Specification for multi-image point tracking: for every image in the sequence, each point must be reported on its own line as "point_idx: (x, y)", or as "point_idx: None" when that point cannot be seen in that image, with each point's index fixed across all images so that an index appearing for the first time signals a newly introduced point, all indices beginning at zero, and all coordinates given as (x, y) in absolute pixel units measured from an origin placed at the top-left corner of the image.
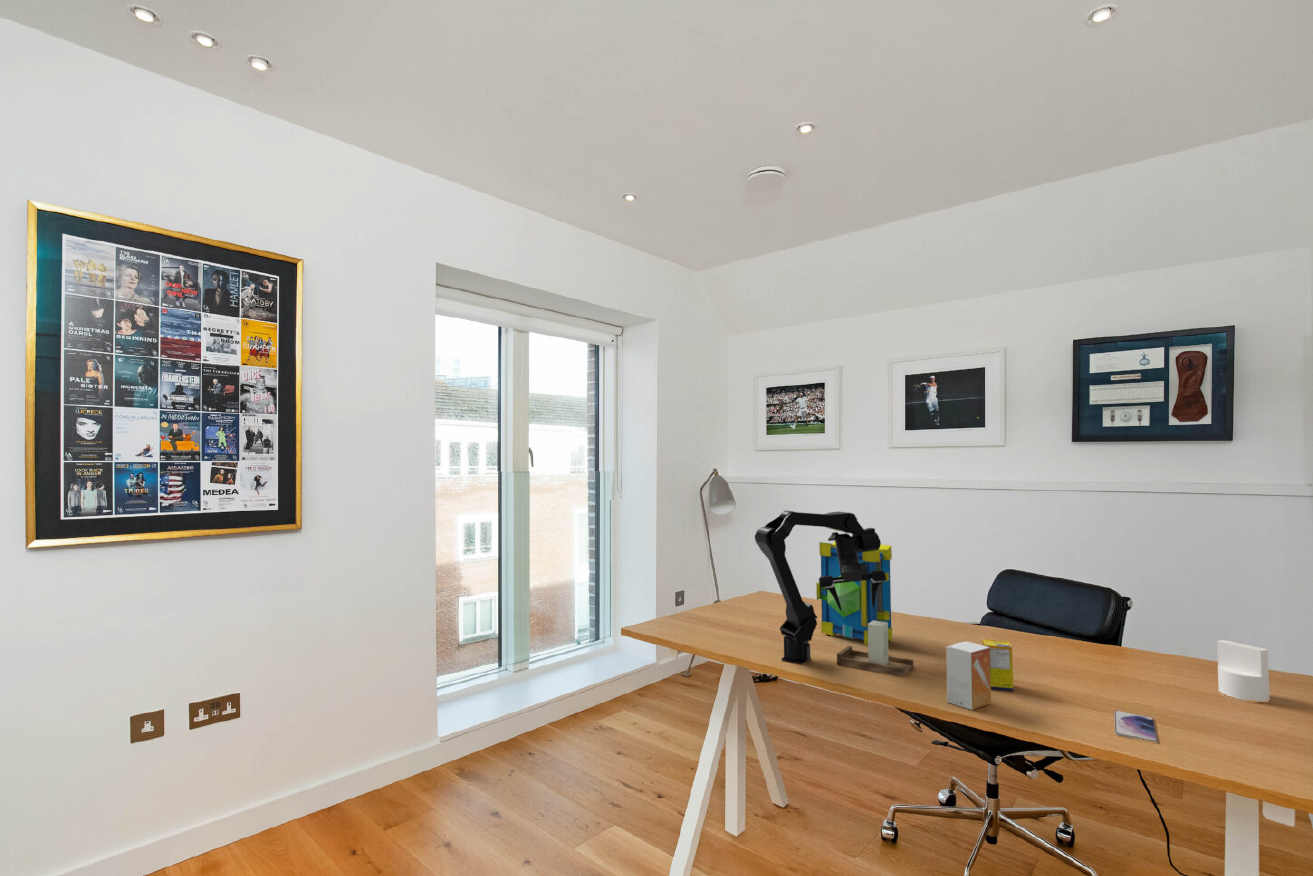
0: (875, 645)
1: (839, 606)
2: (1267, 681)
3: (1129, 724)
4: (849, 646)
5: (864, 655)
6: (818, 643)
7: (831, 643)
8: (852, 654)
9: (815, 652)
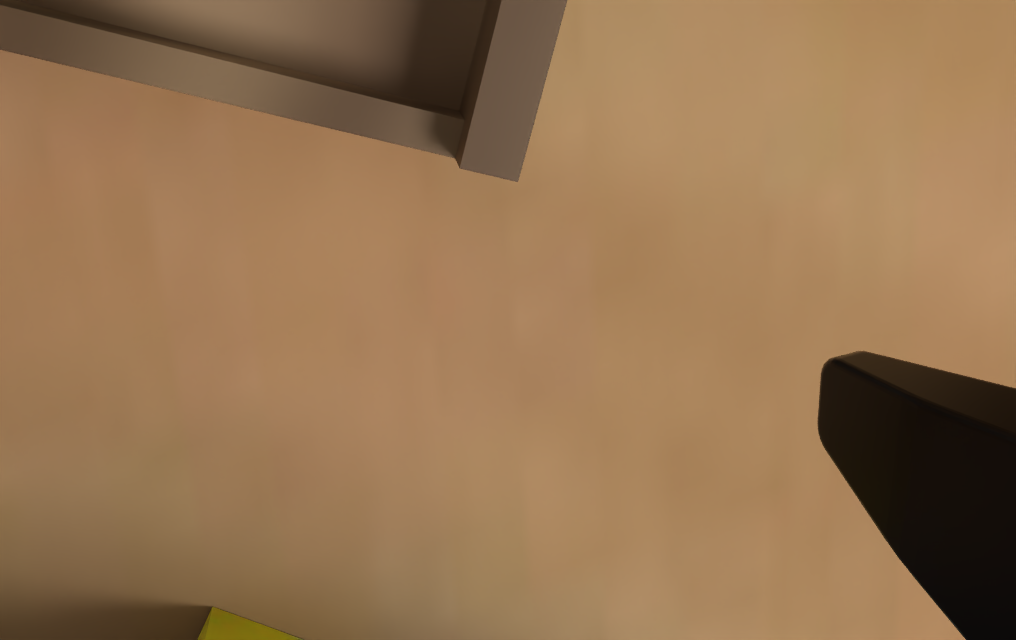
0: None
1: (935, 384)
2: None
3: None
4: (497, 143)
5: (282, 69)
6: (835, 523)
7: (701, 574)
8: (446, 110)
9: (878, 171)
